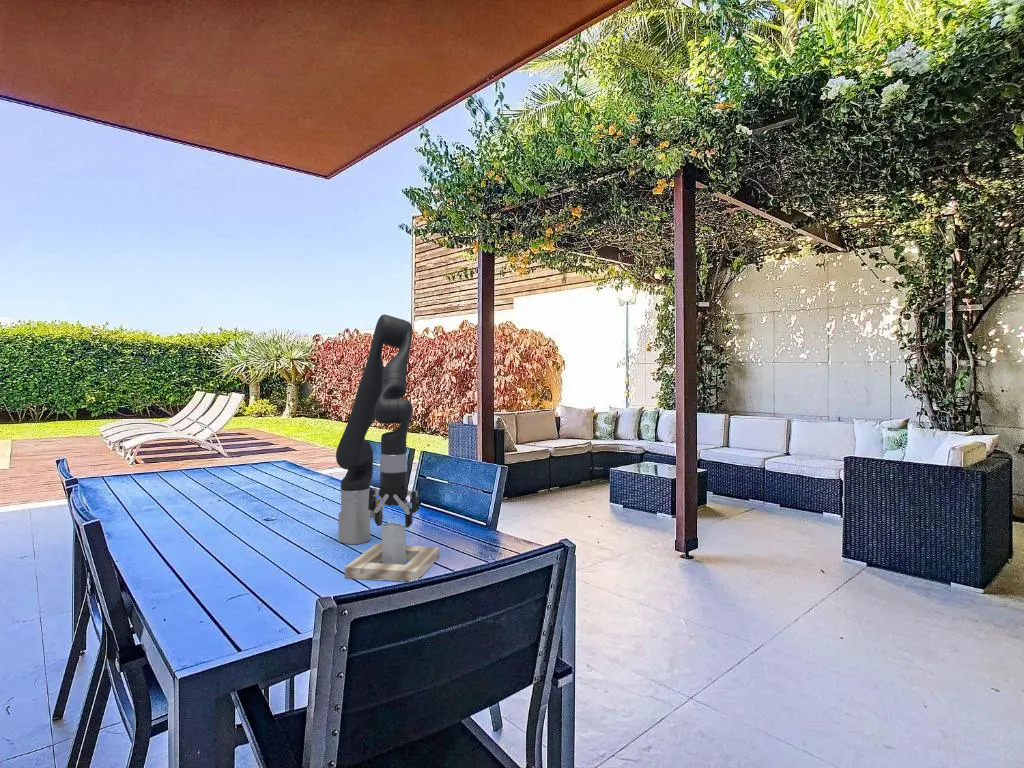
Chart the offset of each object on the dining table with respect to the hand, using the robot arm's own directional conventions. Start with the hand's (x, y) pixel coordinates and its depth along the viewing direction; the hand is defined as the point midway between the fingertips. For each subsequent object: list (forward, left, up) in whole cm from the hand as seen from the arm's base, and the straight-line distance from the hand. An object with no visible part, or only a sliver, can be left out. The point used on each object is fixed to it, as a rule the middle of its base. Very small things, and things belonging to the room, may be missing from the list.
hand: (393, 526), depth 163 cm
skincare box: (0, 0, -12) cm, 12 cm away
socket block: (0, 0, -12) cm, 12 cm away
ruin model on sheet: (-28, +51, -13) cm, 59 cm away
